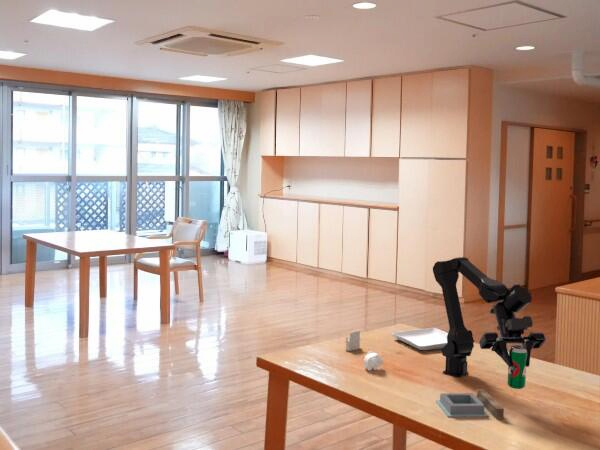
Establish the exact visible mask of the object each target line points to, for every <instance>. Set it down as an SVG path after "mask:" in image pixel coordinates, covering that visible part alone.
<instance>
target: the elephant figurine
mask: <svg viewBox="0 0 600 450" xmlns="http://www.w3.org/2000/svg"><path fill="white" fill-rule="evenodd" d="M362 361H363V365H364V368H365V369H366V370H368V371H369V372H371V371H372V370H373V371H377V370H378V367H381V366H383V364H384V361H383V359H382V355H380V354H378V353H376V352H374V351H373V350H369V351H368V352H367V353H366V355H365V357H364V359H362Z"/></svg>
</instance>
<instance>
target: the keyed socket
mask: <svg viewBox="0 0 600 450" xmlns="http://www.w3.org/2000/svg"><path fill="white" fill-rule="evenodd" d="M435 403H436V404H437V405H438V406H439V408H440V409H441V410H442V412H443V411H444V412H445V413H444V412H443V413H444V415H445V416H446V417H447V416H448V418H468V417H469V418H474V417H475V418H477V417H478V418H479V417H481V418H482V417H486V418H487V417H489V414H488V413H487V412H486V411H485V407H484V404H483V403H482V402H481V401H480V400H479V399H478V398H477V395H476V394H474V393H473V392H459V393H458V392H456V393H455V392H453V393H445V392H444V393H440V397H439V400H438V399H437V400H435Z"/></svg>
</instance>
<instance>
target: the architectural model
mask: <svg viewBox="0 0 600 450" xmlns="http://www.w3.org/2000/svg"><path fill="white" fill-rule="evenodd" d="M360 341H362V339H361V330H357V331H356V330H352V331H351V332H350V333H349V335H348V337H346V339H344V340H343V342H344V343H345V351H349V352H351V351H354V350H359V349H360V343H361V342H360Z"/></svg>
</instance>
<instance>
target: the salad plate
mask: <svg viewBox="0 0 600 450" xmlns="http://www.w3.org/2000/svg"><path fill="white" fill-rule="evenodd" d="M391 334H392V336H393V337H394V338H396V339H397V340H399V341H401V342H403V343H405V344H407V345H409V346H411V347H413V348H415V349H417V350H419V351H430V350H438V349H439V350H442V348H443V347H444V346H445V345H446V344H447V335H448V332H446V331H444V330H442V329H438V328H436V327H428V328H419V329H417V328H416V329H409V330H403V331H396V332H391Z"/></svg>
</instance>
